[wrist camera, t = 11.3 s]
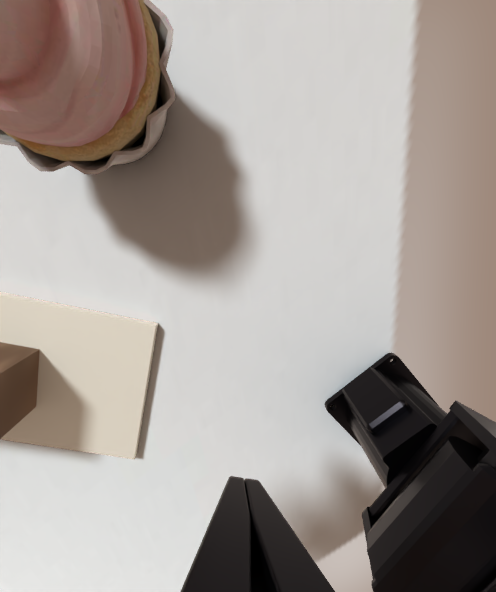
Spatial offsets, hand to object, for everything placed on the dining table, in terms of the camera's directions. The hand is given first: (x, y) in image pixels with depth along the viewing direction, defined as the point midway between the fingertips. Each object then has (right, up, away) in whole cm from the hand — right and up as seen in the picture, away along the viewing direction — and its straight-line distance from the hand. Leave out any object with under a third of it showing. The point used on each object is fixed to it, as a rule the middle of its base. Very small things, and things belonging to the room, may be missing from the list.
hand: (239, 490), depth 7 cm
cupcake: (-8, +16, +8) cm, 20 cm away
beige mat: (-16, 0, +12) cm, 20 cm away
